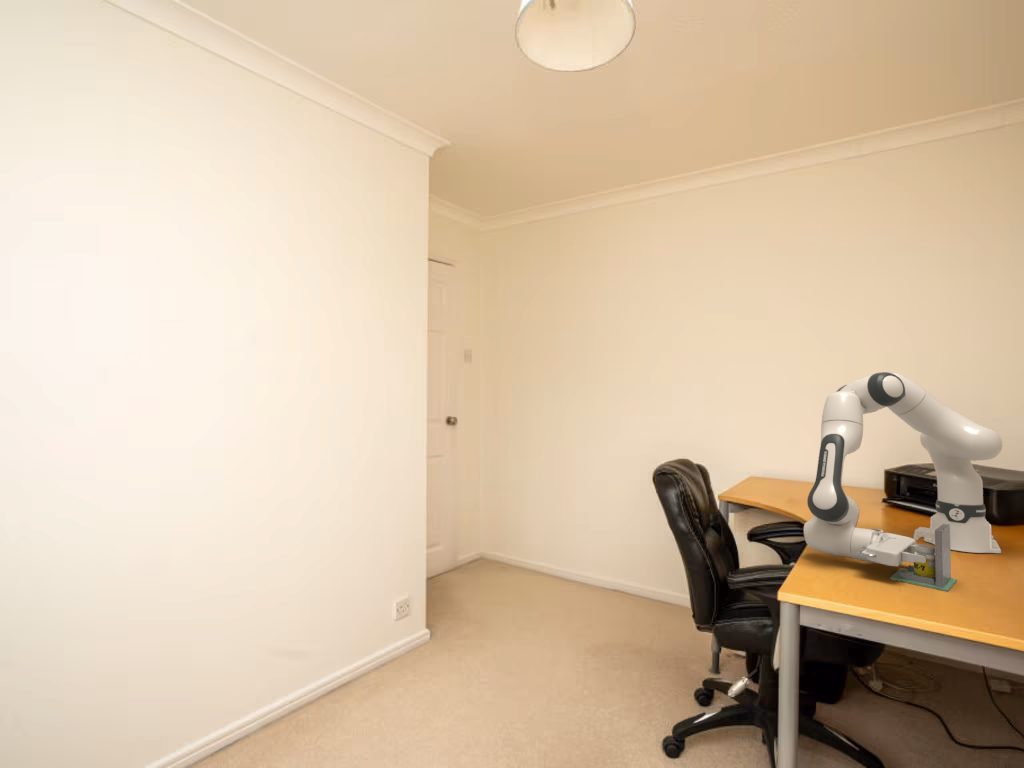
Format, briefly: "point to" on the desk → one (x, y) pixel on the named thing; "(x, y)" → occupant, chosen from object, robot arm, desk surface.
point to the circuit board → (945, 588)
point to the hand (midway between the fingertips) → (929, 556)
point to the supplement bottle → (929, 566)
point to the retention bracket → (941, 556)
